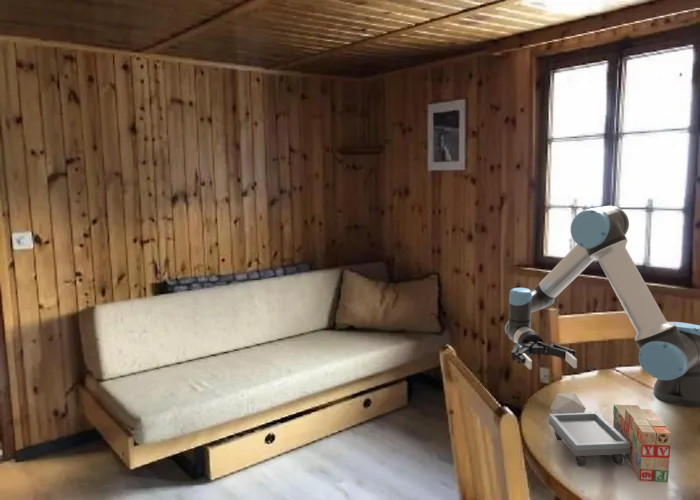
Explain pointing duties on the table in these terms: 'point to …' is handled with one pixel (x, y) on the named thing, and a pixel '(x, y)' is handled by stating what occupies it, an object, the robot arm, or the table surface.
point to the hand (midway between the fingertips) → (553, 364)
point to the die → (567, 404)
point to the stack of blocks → (644, 441)
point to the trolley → (589, 436)
